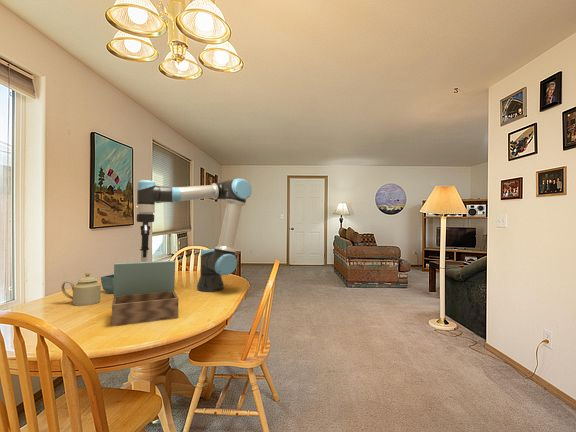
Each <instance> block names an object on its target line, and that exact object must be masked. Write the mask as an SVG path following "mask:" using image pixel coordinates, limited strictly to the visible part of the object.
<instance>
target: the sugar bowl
mask: <svg viewBox="0 0 576 432" xmlns="http://www.w3.org/2000/svg"><path fill="white" fill-rule="evenodd" d="M84 274H85V276H84V277H81V278H79V279H77V280H76V282H77V283H76V284H75V285H74V282H73V281H71V280H66V281H64V282H62V284H61V292H62V294H63V295H64V296H65V297H66V298H69V299H70V300H72V305H73V306H78V307H79V306H80V307H82V306H83V307H84V306H91V305H95V304H98V303H100V301H101V294H102V293H101V290H102V283H101V282H98V278H96V277H94V276H90V275H91V273H90V271H89V270H87V271H86V272H85V273H84ZM66 284H70V287H71V290H72V296H71V294H69V293H67V291H66V289H65V285H66Z"/></svg>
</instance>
